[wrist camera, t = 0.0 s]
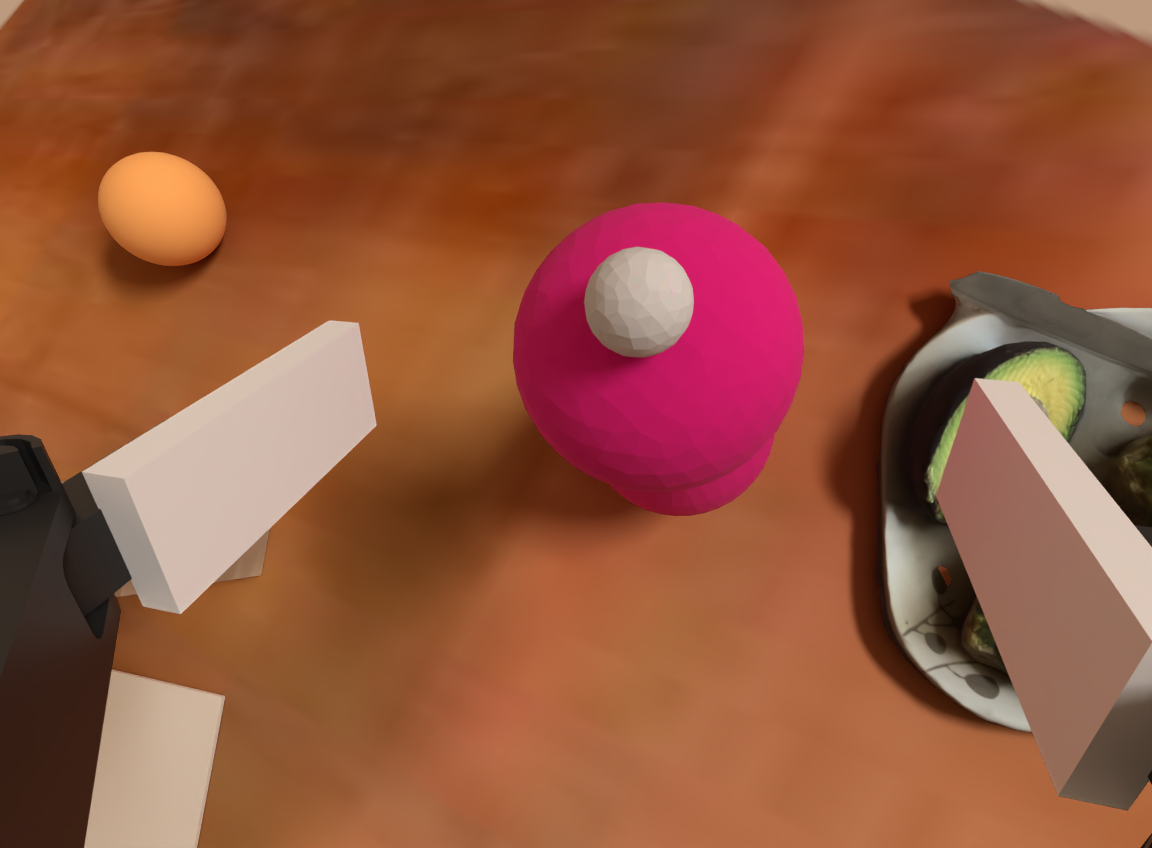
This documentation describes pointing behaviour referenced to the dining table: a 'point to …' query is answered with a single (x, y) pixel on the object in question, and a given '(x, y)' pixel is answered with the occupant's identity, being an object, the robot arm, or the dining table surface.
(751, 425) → the pepper mill
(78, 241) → the dining table surface
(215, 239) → the ball
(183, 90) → the dining table surface
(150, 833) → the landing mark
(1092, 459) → the salad plate
